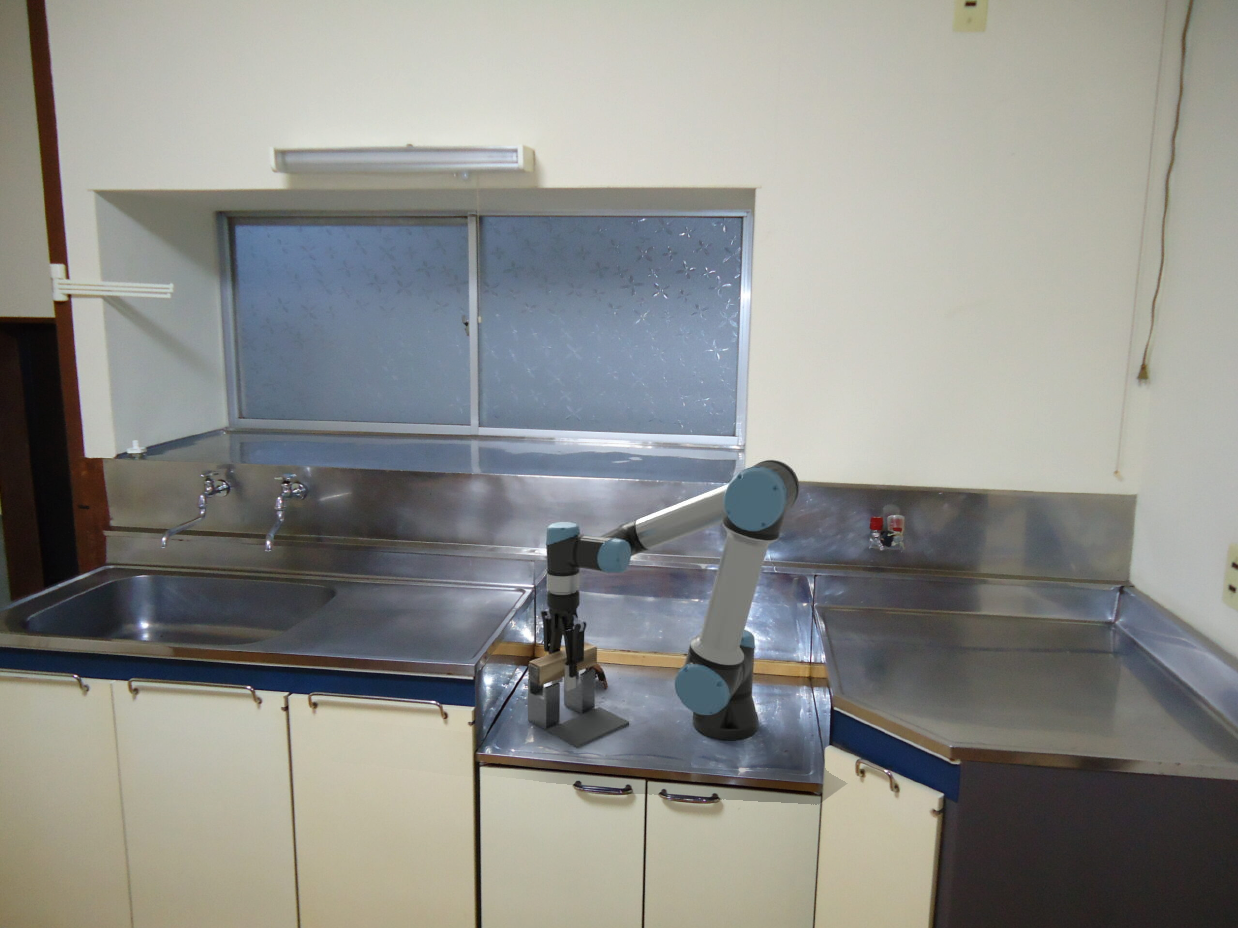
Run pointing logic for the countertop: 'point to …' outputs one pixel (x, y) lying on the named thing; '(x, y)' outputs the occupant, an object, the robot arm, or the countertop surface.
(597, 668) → the pottery mug
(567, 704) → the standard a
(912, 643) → the countertop surface
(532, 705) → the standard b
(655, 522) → the robot arm
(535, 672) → the oak rail
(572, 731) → the mat
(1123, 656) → the countertop surface
